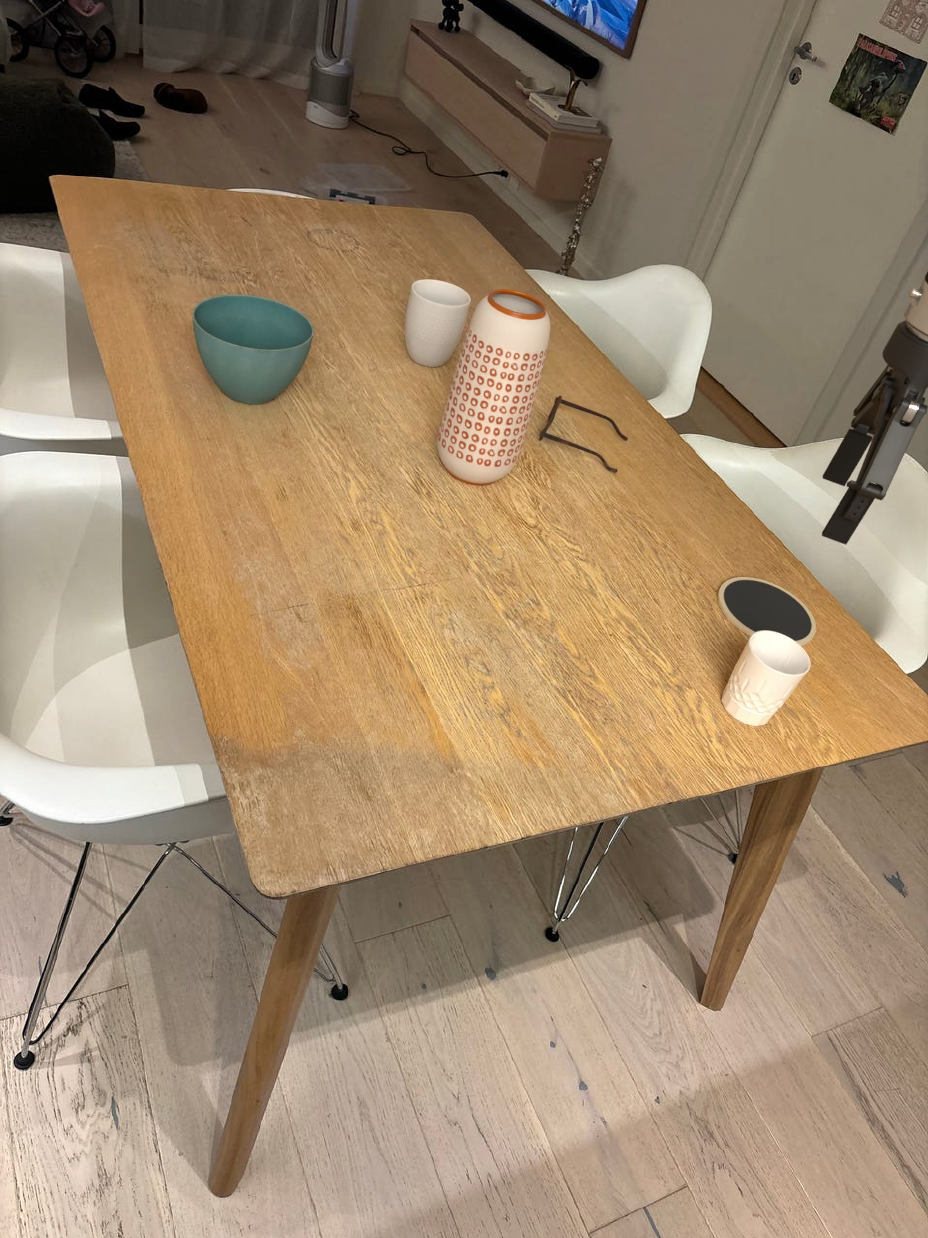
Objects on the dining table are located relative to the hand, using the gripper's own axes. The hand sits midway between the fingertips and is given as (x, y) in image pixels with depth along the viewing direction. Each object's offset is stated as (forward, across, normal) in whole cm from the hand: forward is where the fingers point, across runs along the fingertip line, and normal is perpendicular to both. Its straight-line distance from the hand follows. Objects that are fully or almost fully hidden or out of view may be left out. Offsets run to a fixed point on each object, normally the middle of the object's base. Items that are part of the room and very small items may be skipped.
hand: (833, 508), depth 104 cm
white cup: (+28, +4, +2) cm, 29 cm away
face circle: (+28, -18, +4) cm, 34 cm away
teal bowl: (+28, -25, -84) cm, 92 cm away
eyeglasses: (+28, -48, -32) cm, 64 cm away
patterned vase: (+28, -26, -46) cm, 60 cm away
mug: (+28, -59, -66) cm, 93 cm away
